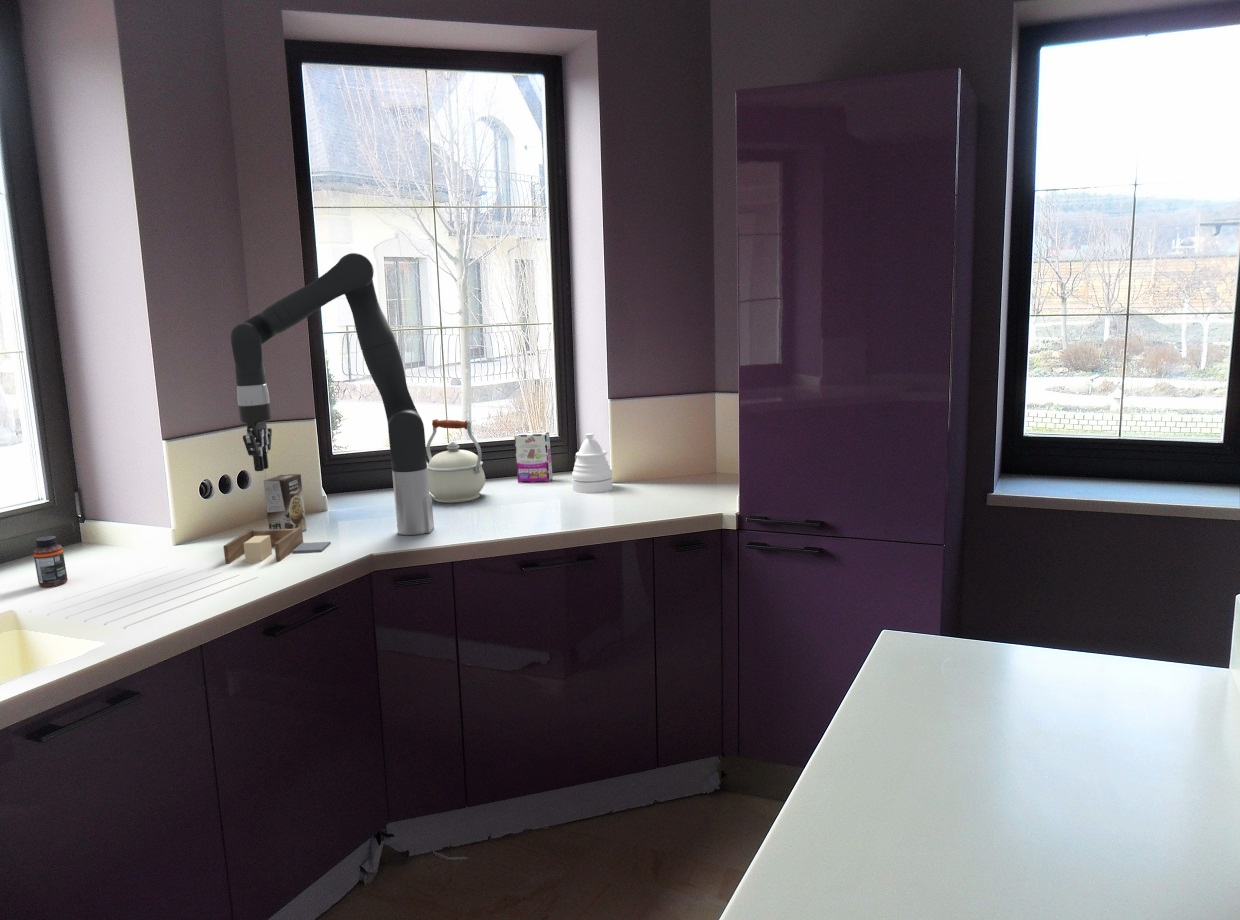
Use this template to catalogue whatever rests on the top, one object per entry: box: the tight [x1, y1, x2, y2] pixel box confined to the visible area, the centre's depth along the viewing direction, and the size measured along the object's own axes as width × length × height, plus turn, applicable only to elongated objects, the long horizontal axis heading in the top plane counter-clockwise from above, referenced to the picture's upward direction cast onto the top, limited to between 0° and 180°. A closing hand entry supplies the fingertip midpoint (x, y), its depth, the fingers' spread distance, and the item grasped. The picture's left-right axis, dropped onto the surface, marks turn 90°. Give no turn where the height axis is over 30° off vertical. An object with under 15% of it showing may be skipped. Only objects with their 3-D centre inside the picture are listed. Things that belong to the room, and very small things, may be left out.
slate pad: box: [291, 541, 332, 554], centre depth 241 cm, size 8×8×1 cm
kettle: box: [426, 418, 486, 504], centre depth 293 cm, size 25×18×25 cm
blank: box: [243, 535, 273, 563], centre depth 234 cm, size 4×7×5 cm, turn 0°
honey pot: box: [571, 433, 614, 494], centre depth 297 cm, size 13×13×18 cm
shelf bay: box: [223, 528, 304, 565], centre depth 239 cm, size 14×17×4 cm
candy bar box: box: [514, 431, 553, 484], centre depth 314 cm, size 11×5×16 cm, turn 81°
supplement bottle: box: [33, 535, 68, 588], centre depth 219 cm, size 6×6×11 cm
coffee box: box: [263, 473, 308, 533], centre depth 257 cm, size 9×6×16 cm
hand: (261, 469), depth 239 cm, fingers open, 2 cm apart
